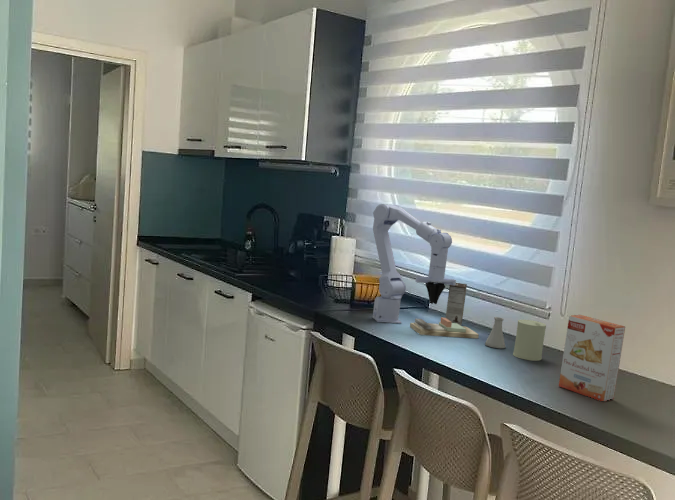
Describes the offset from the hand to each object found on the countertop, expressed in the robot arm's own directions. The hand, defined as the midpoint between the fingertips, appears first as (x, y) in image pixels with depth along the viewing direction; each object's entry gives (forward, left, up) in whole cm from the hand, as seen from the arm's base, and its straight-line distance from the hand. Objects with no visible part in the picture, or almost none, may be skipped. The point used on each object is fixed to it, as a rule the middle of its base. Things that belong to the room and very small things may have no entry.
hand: (432, 303), depth 250 cm
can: (+24, -28, -11) cm, 39 cm away
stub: (+8, 0, -9) cm, 12 cm away
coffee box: (+14, +14, -11) cm, 23 cm away
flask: (+18, -16, -11) cm, 27 cm away
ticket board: (+5, 0, -10) cm, 12 cm away
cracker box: (+23, -65, -11) cm, 70 cm away
